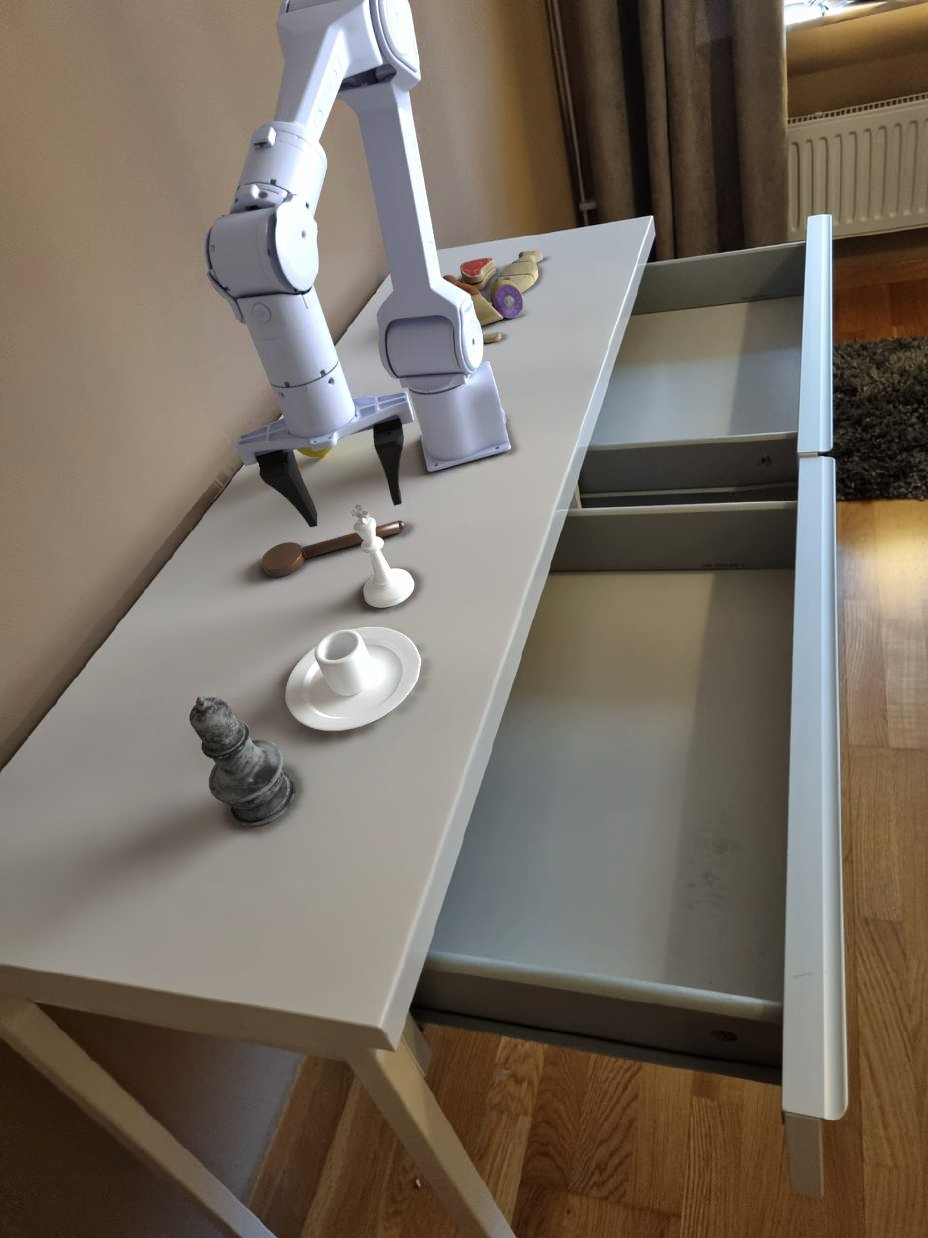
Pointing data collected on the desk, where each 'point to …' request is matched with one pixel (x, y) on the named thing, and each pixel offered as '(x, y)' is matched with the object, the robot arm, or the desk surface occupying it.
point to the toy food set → (498, 287)
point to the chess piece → (380, 567)
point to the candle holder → (352, 678)
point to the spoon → (315, 550)
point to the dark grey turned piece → (241, 765)
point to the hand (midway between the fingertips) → (355, 509)
